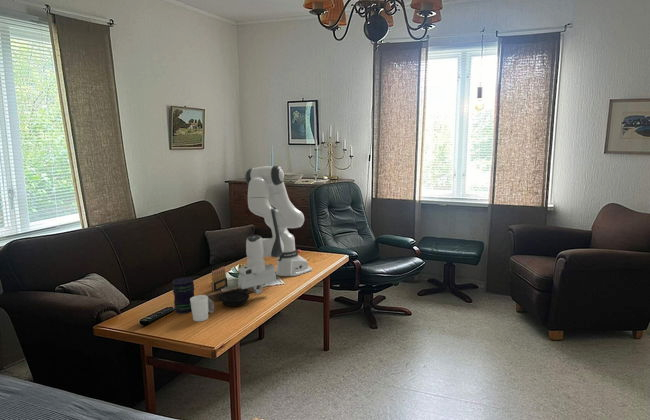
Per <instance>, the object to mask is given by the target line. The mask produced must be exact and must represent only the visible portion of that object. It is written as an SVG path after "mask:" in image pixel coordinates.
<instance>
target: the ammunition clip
mask: <svg viewBox="0 0 650 420" xmlns="http://www.w3.org/2000/svg"><path fill="white" fill-rule="evenodd" d="M226 272H227V271H226V267H225V265H223V266H220V267H219V268H216V269H214V270H213V269H212V271H211V293H216V292H219V291H221V290H222V289H223V290H224V289H225V288H226V287H228V286H229V285H228V278H227V273H226Z"/></svg>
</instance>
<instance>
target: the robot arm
mask: <svg viewBox="0 0 650 420" xmlns="http://www.w3.org/2000/svg"><path fill="white" fill-rule="evenodd" d="M244 177H245V179H244V180H245V182H246V183H247V186H248V187H247V188H248V189H247V206H248V209H249V211H250V212H251V213H253V215H256V216H258V217H262V218H264V219H263V220H264V223H265V224H266V225H267V227H269V228H270V229H271V235H272V237H270V238H268V237H267V238H265V237H264V238H263V237H262V236H261V235H259V234H253V235H249V236H247V238H246V243H245V248H246V249H245V251H246V253H245V254H246V257H247V260H246V261H247V262H246V264H245V265H243V266H242V267H240V268H238V272H239V274H238V276H237V285H238V287H239V288H241V289H246V288H250V287H253V289H254V290H255V292H254V293H255V294H256V295H258V294H261V293H263V292H262V290H263V288H264V285H265V284H269V283H273V282H275V281H276V280H277V276H280V277H297V276H299V275H302V274H303V275H304V274H306V273H309V272H312V271H313V267H311V266H310V265H309V264H308V263H309V262H308V261H307V259H306V258H304V257H302V256H301V255H299V254H301V253H302V250H301V249H296V242H295V239H296V238H295V236H294V234H292V233H290V231H289V230H288V229H298V228H301V227H302V226H303V225H304V224H305V223H304V222H305V216H304V213H303V212H302V211H301V210H299V209H298V208H297V207H296V206H294V204H293V203H292V202H291V200H290V198H289V195H288V192H287V188H286V185H285V182H284V181H285V171H284V169H283V168H282V167H281V166H280V165H273V166H272V165H264V166H258V167H252V168H249V169H248V170H247V171H246V173H245V176H244ZM267 257H271V258H276V267H275V265H274V264H273V263H269V264H266V263H265V262H266V261H265V258H267ZM276 275H277V276H276ZM258 285H259V286H260V287H259V289H256V288H257V286H258Z"/></svg>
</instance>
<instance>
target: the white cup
mask: <svg viewBox="0 0 650 420" xmlns="http://www.w3.org/2000/svg"><path fill="white" fill-rule="evenodd" d="M206 295H207V294H198V295H194V297H192V298H190V303H191V310H192V312H191V314H192V321H194V322H203V321H206V320H208V319H209V311H208V296H206Z"/></svg>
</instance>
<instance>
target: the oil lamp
mask: <svg viewBox="0 0 650 420" xmlns="http://www.w3.org/2000/svg"><path fill="white" fill-rule="evenodd" d="M236 288H237V287H236ZM247 291H248V290H247V289H241V288H237V290H232V291H228V292H224V293H222V294H221V295H219V299H220V302H221V303H222V304H223V305H225V306H226V307H240V306H242V305H244V304H245V303H247V301H248V299H249V298H250V294H249V293H248V294H247V293H246V292H247Z"/></svg>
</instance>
